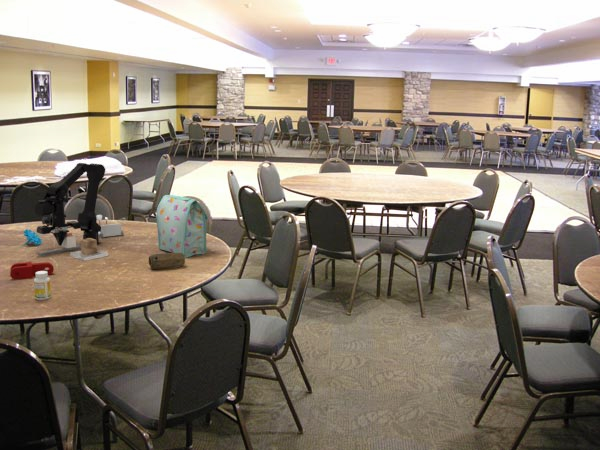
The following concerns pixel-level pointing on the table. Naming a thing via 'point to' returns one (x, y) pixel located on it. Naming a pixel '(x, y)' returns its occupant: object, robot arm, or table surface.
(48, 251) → the rail
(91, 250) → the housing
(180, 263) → the stone weight
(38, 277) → the supplement bottle
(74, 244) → the white rectangular block
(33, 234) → the blue lobed piece
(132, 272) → the table surface
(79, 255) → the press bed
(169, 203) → the lunch bag
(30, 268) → the mechanical linkage
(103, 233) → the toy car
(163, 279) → the table surface
